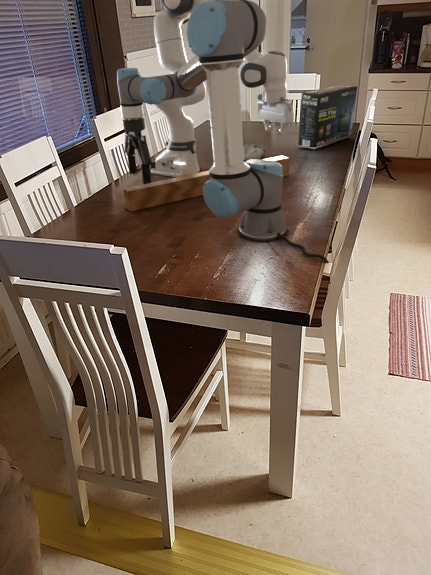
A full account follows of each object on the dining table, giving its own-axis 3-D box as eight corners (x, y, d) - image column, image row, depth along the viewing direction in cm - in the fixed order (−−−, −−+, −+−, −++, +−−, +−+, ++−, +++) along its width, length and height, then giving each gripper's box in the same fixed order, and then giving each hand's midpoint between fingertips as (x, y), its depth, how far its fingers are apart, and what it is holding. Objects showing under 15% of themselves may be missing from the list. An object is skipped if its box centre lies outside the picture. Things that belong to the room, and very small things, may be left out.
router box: (314, 151, 231) (318, 94, 217) (296, 148, 237) (299, 92, 224) (352, 138, 251) (358, 85, 238) (335, 135, 258) (340, 83, 245)
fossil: (256, 156, 213) (234, 135, 216) (244, 175, 219) (223, 154, 222) (274, 153, 226) (253, 134, 229) (261, 171, 233) (241, 152, 236)
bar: (130, 211, 170) (127, 191, 166) (126, 208, 173) (123, 188, 169) (288, 175, 200) (288, 157, 195) (281, 173, 203) (282, 155, 199)
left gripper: (298, 98, 175) (296, 135, 182) (266, 93, 191) (266, 127, 198) (285, 100, 173) (284, 137, 180) (254, 95, 188) (254, 130, 195)
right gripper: (158, 122, 150) (163, 185, 161) (130, 110, 168) (137, 167, 179) (136, 126, 146) (143, 189, 158) (110, 113, 165) (118, 171, 176)
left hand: (274, 132), depth 189 cm, fingers open, 8 cm apart
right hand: (140, 178), depth 168 cm, fingers open, 13 cm apart
